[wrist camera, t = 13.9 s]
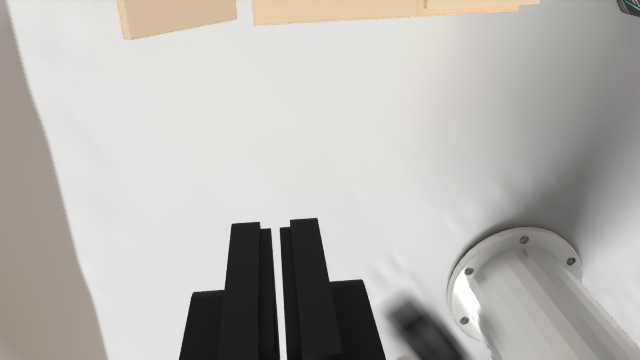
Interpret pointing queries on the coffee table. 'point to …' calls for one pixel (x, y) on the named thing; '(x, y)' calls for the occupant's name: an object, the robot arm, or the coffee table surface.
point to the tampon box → (630, 6)
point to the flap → (171, 15)
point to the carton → (371, 9)
